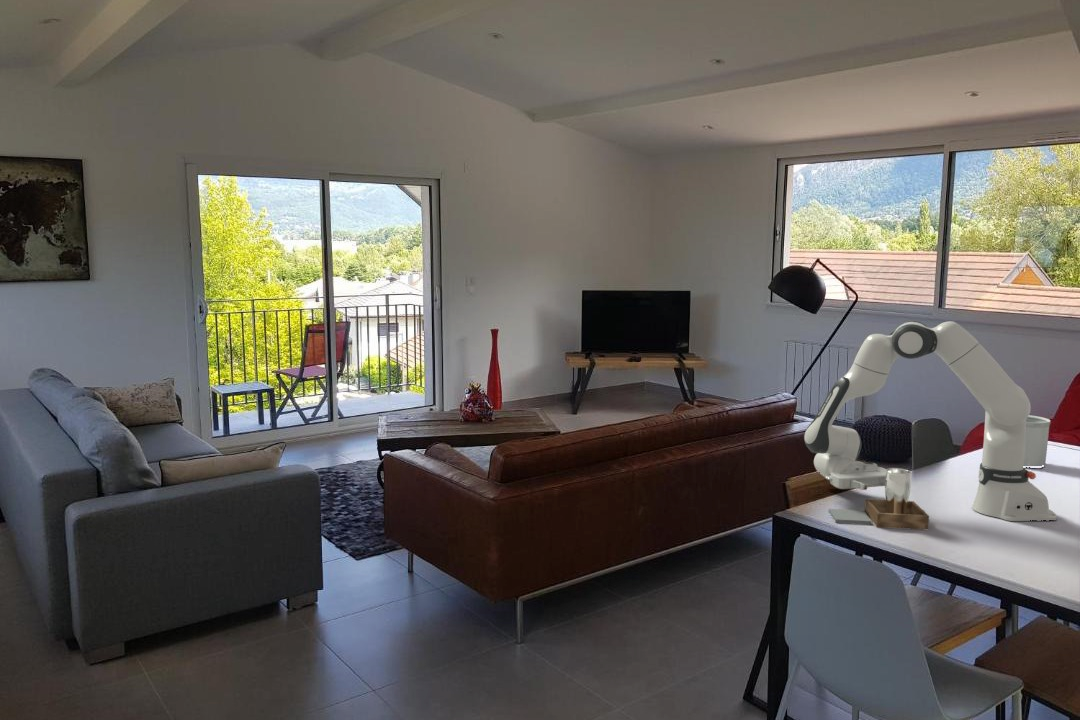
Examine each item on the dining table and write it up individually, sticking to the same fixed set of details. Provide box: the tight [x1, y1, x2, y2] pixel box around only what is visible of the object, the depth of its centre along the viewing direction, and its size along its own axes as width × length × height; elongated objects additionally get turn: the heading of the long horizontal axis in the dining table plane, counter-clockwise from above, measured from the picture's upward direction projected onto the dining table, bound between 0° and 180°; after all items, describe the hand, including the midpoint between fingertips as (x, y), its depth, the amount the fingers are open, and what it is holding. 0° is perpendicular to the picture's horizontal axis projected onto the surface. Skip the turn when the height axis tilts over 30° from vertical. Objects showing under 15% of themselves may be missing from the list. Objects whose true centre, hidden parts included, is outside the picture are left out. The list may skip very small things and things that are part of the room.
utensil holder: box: [1023, 414, 1052, 466], centre depth 311 cm, size 15×15×18 cm
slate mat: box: [827, 508, 873, 525], centre depth 247 cm, size 10×10×1 cm
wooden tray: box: [863, 498, 930, 530], centre depth 246 cm, size 14×14×4 cm
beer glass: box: [884, 467, 912, 514], centre depth 245 cm, size 7×7×15 cm
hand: (878, 486), depth 253 cm, fingers open, 8 cm apart
